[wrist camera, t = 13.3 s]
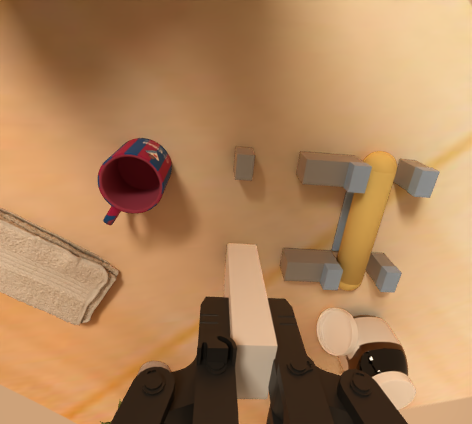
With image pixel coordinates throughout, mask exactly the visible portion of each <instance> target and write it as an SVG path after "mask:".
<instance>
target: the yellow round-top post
mask: <svg viewBox="0 0 472 424" xmlns="http://www.w3.org/2000/svg"><path fill="white" fill-rule="evenodd" d="M363 162H364V163H367V164H369V165H370V166H372V169H371V172H370V176H369V180H368V183H367V187H366V190H365V193H354V195H353V199H352V203H351V206H350V210H349V214H348V218H347V221H346V225H345V229H344V233H343V237H342V240H341V244H340V248H339V252H338V256H337V259H336V260H337V262H338V264H340V266H341V268H342V269H343V273H342V276H341V280H340V283H339V288H341V289H343V290H346V291H351V290H354V289H356V288H358V287H359V286H360V284H361V282H362V280H363V276H364V273H365V270H366V267H367V264H368V260H369V257H370V254H371V251H372V248H373V245H374V241H375V238H376V235H377V232H378V229H379V226H380V222H381V219H382V216H383V213H384V210H385V206H386V203H387V200H388V197H389V194H390V191H391V187H392V184H393V181H394V178H395V175H396V171H397V163H396V160H395V159H394V157H393V156H392V155H390V154H389V153H387V152H383V151H377V152H373V153H371V154H369V155H368V156H367V157H366V158H365V159H364V160H363Z"/></svg>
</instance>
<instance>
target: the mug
mask: <svg viewBox="0 0 472 424" xmlns="http://www.w3.org/2000/svg"><path fill="white" fill-rule="evenodd" d="M171 171H172V164H171V159H170V157H169V155H168V153H167V152H166V150H165V149H164V148H163V147H162V146H161V145H159V144H158V143H156V142H155V141H152V140H149V139H145V138H138V139H133V140H130V141H128V142H127V143H125V144H124V145H123V146H122V147H121V148H119V149H118V150H117V151H116V152H115V153H114V154H113V155H112V156H110V157H109V158H108V159H107V160H106V161H105V162H104V163H103V165H102V166H101V168H100V170H99V173H98V186H99V189H100V192H101V194H102V196H103V197H104V199H105V200H106V201H107V202H108V203H109V204H110V205H111V208H110V210H109V211H108V213H107V215H106V216H105V218H104V222H105V223H106V224H108V225H112V224H113V223H114V221H115V219H116V218H117V216H118V215H119V213H120V212H121V211H123V212H126V213H143V212H146V211H148V210H150V209H152V208H153V207H154V206H156V205H157V203H158V202H159V201H160V199H161V197H162V195H163V192H164V190H165V188H166V185H167V183H168V180H169V178H170V175H171Z"/></svg>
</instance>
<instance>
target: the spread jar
mask: <svg viewBox="0 0 472 424" xmlns="http://www.w3.org/2000/svg"><path fill="white" fill-rule="evenodd" d="M317 337H318V340H319V343H320V345H321V346H322V348H323V349H324V350H325V351H326V352H327V353H329V354H331V355H334V356H338V358H339V361H340V364H341V366H342V369H343V371H346V370H348V369H357V370H360V371H363V372H365V373H367V374H368V375H370V376H371V377H372V378H373V379H374V380H375V381H376V382H377V383H378V385H379V386H380V387H381V389H382V390H383V391H384V393H385V394H386V395H387V397H388V398H389V399H390V401H391V402H392V403H393V405H394V406H395V407H396V409H397V410H401V409H403V408H405V407H406V406H408V405H409V404H410V403H411V402H412V401H413V399H414V397H415V395H416V389H415V387H414V385H413V383H412V382H411V380H410V378H409V377H408V365H407V359H406V355H405V352H404V350H403V348H402V346H401V344H400V342H399V340H398V339H397V337H396V336H395V334H394V332H393V331H392V329H391V328H390V326H389V325H388V324H387V323H386V322H385V321H384V320H383V319H381V318H379V317H375V316H370V315H358V316H353V317H352V315H351V314H350V313H349V312H348V311H346V310H344V309H341V308H328V309H326V310H324V311H323V312H322V313H321V315H320V316H319V318H318V321H317Z"/></svg>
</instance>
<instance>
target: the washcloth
mask: <svg viewBox="0 0 472 424" xmlns="http://www.w3.org/2000/svg"><path fill="white" fill-rule="evenodd" d="M118 273H119V271H118V270H117V269H116V268H115V267H112V266H111V265H110V263H109V262H107V261H106V260H103V259H102V258H100V257H99V256H97V255H96V254H94V253H92V252H90V251H88V250H86V249H84V248H82V247H80V246H78V245H76V244H74V243H72V242H70V241H68V240H66V239H64V238H62V237H60V236H58V235H56V234H54V233H52V232H50V231H48V230H46V229H44V228H42V227H40V226H38V225H36V224H34V223H32V222H30V221H28V220H26V219H24V218H22V217H20V216H18V215H16V214H14V213H12V212H10V211H8V210H5V209H3V208H0V292H2V293H4V294H6V295H8V296H10V297H13V298H15V299H17V300H18V301H21V302H24V303H26V304H27V305H31V306H33V307H34V308H38V309H40V310H43V311H45V312H47V313H49V314H52V315H55V316H56V317H58V318H60V319H62V320H64V321H66V322H70V323H71V324H73V325H80V324H81V323H86V322H89V321H90V320H91V319H90V318H91V315H92V314H93V312H94V310H95V309H96V308H97V306H98V305H99V303H100V302H101V300H102V299H103V297H104V296H105V294H106V293H107V291H108V290H109V289H110V287H111V286H112V284H113V283H114V282H115V280H116V277H117V275H118Z"/></svg>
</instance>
